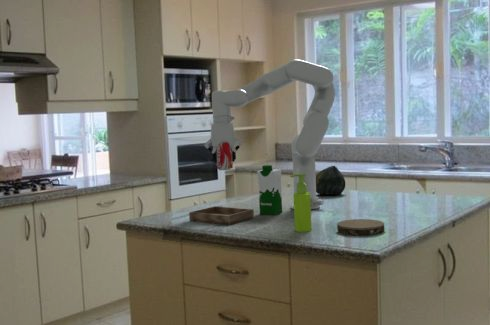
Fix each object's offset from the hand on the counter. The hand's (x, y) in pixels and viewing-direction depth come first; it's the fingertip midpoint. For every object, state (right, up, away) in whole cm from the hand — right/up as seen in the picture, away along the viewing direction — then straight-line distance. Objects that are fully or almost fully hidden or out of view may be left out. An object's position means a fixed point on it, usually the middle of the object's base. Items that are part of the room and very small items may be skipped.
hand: (224, 161), depth 263 cm
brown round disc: (+49, -24, -49) cm, 73 cm away
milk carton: (+20, -21, -6) cm, 30 cm away
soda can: (0, -4, 0) cm, 4 cm away
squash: (+50, -16, +38) cm, 65 cm away
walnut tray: (-1, -23, -16) cm, 28 cm away
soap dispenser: (+29, -24, -44) cm, 58 cm away
